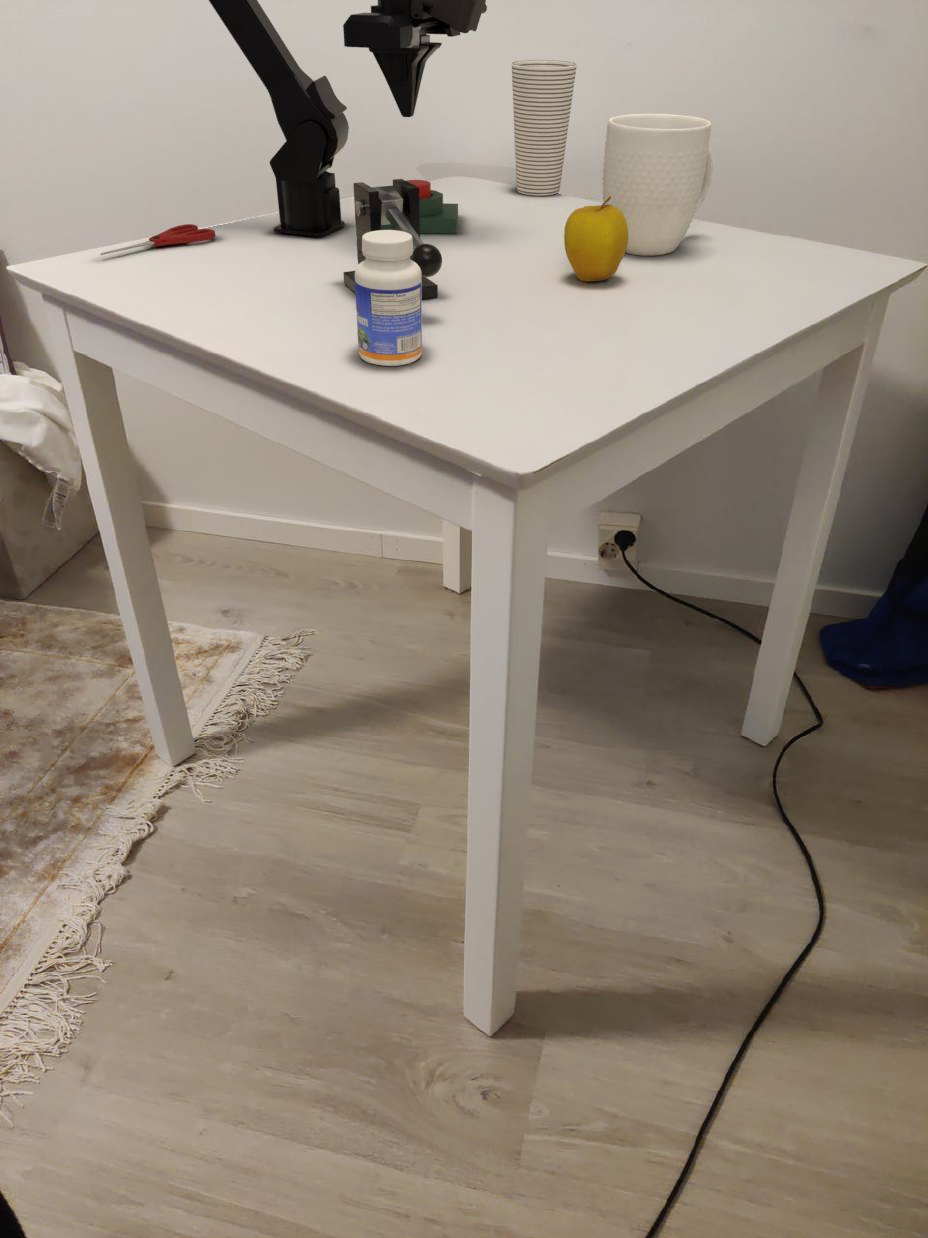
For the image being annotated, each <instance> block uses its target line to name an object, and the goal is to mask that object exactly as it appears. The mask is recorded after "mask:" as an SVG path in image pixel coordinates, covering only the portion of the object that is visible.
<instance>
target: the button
mask: <svg viewBox="0 0 928 1238" xmlns="http://www.w3.org/2000/svg"><path fill="white" fill-rule="evenodd" d="M406 181H407V182H409V183H411V184H413V185H415V186H417V187H419V199H421V198H428V197H431V190H432V187H431V181H428V180H425V179H408V180H406Z"/></svg>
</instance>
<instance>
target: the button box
mask: <svg viewBox="0 0 928 1238" xmlns="http://www.w3.org/2000/svg"><path fill="white" fill-rule="evenodd" d="M419 207H420V234H436V235H437V234H442V235H443V234H445V235H446V234H447V235H455V234H457V229H458V221H459V203H444V194H443V192H440V191H437V190H434V189H431V197H428V198H421V199H419ZM380 229H381V230H394V228H393V227H392V225H382V226H381V225H380Z"/></svg>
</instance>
